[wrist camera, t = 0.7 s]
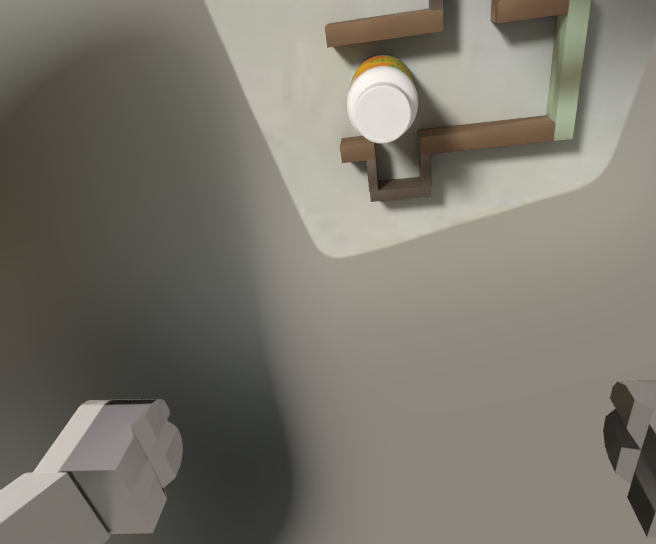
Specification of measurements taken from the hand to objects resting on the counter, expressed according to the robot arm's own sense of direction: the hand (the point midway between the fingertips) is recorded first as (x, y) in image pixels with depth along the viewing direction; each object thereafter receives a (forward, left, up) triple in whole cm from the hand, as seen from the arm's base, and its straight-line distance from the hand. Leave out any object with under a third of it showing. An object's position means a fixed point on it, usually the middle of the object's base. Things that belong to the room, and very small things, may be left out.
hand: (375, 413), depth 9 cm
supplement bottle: (+1, 0, -38) cm, 38 cm away
